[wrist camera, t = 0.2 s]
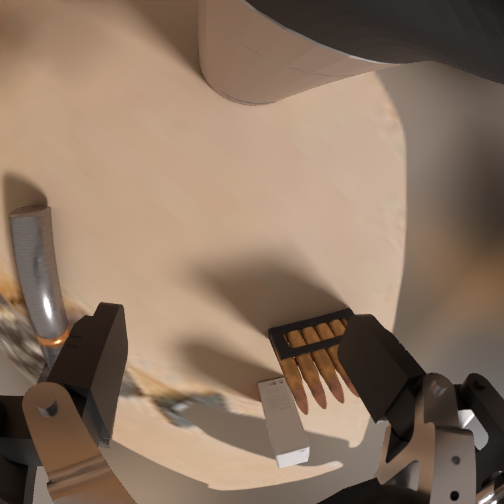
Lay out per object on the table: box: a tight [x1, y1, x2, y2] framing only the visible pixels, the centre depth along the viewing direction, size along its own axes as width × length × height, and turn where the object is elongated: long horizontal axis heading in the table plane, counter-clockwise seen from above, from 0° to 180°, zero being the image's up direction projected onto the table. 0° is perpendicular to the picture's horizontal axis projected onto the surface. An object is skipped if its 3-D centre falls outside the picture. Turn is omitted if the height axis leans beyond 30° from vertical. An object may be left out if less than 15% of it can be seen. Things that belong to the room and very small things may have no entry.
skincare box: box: [258, 377, 309, 468], centre depth 32 cm, size 6×4×12 cm
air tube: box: [9, 205, 70, 371], centre depth 23 cm, size 20×5×5 cm, turn 169°
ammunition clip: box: [268, 309, 360, 415], centre depth 27 cm, size 11×2×12 cm, turn 97°
